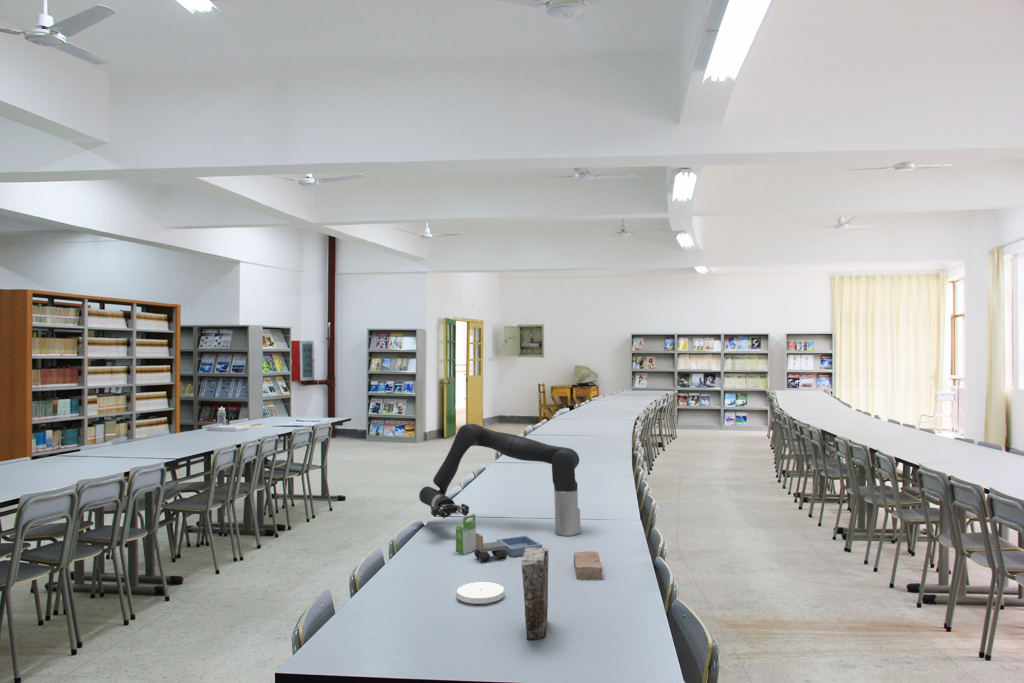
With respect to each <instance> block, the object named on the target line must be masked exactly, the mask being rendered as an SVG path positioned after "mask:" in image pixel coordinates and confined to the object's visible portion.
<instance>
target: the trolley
mask: <svg viewBox="0 0 1024 683" xmlns="http://www.w3.org/2000/svg"><path fill="white" fill-rule="evenodd" d="M504 549H506V546H505V545H504V544H502V543H501V542H499V541H498V542H497V541H493V542H485V543H484V536H482V535H481V534H480V533H478V532H477V533H476V550H475V551H473V552H474V553H473V554H474V556H475V558H477V559H478V558H479V559H478V560H479V561H480V562H482V563H484V562H485V563H487V562H489V560H490V559H491V555H490V553H489V552H491V554H492V555H493V556H495V557H496V558H497V559H498V560H500V561H503V559H504V560H505V559H506V558H507V557H508V555H507V552H506V551H505V550H504Z"/></svg>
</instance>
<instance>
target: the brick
mask: <svg viewBox="0 0 1024 683" xmlns="http://www.w3.org/2000/svg"><path fill="white" fill-rule="evenodd" d="M600 560H601V559H600V555H599V552H598V551H595V550H589V551H588V550H587V551H579V552H578V551H574V552H573V566H575V567H573V568H574V571H575V576H576V579H577V580H578V579H582V581H584V579H585V580H587V579H589V580H591V581H592V579H594V580H595V581H598V580H601V581H602V580H603V564H602V563H601V561H600ZM589 580H588V581H589ZM594 580H593V581H594Z"/></svg>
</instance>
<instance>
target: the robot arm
mask: <svg viewBox="0 0 1024 683" xmlns="http://www.w3.org/2000/svg"><path fill="white" fill-rule="evenodd" d="M477 446H478V447H482V448H483V447H484V448H488V449H492V450H493V451H496V452H498V453H500V454H502V455H503V456H506V457H509V458H512V459H515V460H520V461H526V462H527V461H528V462H538V463H539V462H540V463H545V464H549V465H550V464H551V474H552V476H551V477H552V483H553V490H554V491H553V492H554V494H553V495H554V531H555V534H556V535H557V536H561V535H562V536H563V537H571V536H577V535H579V534H581V533H582V532H581V531H582V530H581V528H582V527H581V509H580V508H579V499H578V498H579V494H578V489H579V488H578V482H577V480H576V473H575V471H576V468H577V467H578V465H579V463H580V458H579V454H578V453H577V452H576V451H575V450H574V449H573V448H570V447H564V446H556V445H550V444H548V443H547V444H546V443H543V442H541V441H538V440H536V439H535V440H534V439H532V438H527V437H524V436H520V435H516V434H512V433H507V432H500V431H495V430H492V429H489V428H486V427H485V426H482V425H479V424H476V423H466V424H463V425H462V426H460V427H459V428H458V431H457V432H456V434H455V437H454V440H453V442H452V445H451V447H450V449H449V450H448V453H447V455H446V457H445V459H444V461H443V463H442V464H441V466H440V467H439V468H438V470H437V472H436V474H435V475H434V477H433V479H432V481H433V484H434V485H435V487H437V488H439V490H437V489H436V488H434V487H431V486H424V487H422V489H421V490H420V491H419V493H418V496H419V497H418V498H419V500H420V502H421V503H423V504H424V505H427V506H428V507H429V508H430V514H431V515H432V517H435V518H436V517H437V516H438V517H441V518H442V519H445V518H448V517H450V516H452V515H460V514H461V515H463V517H466V516H468V515H469V513H470V506H469V505H467V504H465V503H461V505H460V504H456V503H455V501H454V500H453V499H451V498H450V497H449V496H447V495H446V494H447V491H448V488H449V486H450V484H451V482H452V480H454V478H455V476H456V474H457V472H458V469H459V466H460V463H461V460H462V458H463V457H464V455H465V454H466V453H467V451H468V450H469V449H470V447H477Z"/></svg>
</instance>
